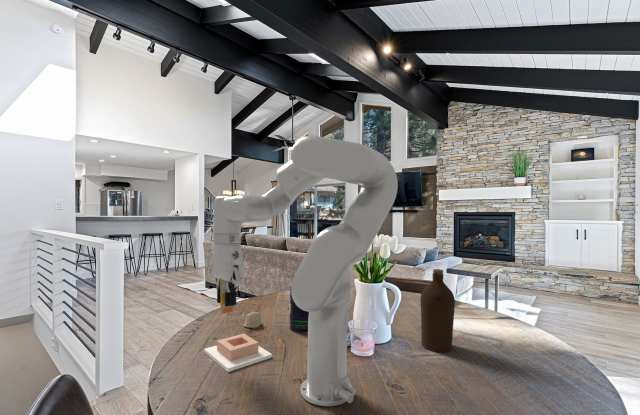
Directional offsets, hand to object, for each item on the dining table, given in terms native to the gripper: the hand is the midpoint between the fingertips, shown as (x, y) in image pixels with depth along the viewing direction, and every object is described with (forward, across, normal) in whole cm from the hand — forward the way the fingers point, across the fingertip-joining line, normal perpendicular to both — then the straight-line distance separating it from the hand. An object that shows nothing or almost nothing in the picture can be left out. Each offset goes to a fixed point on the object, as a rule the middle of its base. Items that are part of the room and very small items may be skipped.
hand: (226, 303), depth 96 cm
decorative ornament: (+17, +20, -21) cm, 34 cm away
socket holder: (+17, +2, -5) cm, 18 cm away
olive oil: (+18, -34, -57) cm, 69 cm away
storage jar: (+17, +6, -34) cm, 39 cm away
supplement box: (+2, 0, 0) cm, 2 cm away
